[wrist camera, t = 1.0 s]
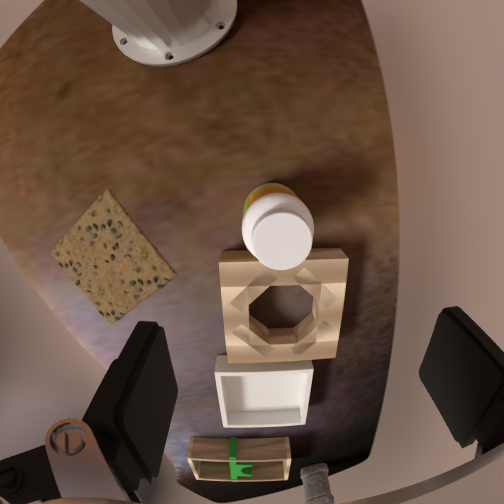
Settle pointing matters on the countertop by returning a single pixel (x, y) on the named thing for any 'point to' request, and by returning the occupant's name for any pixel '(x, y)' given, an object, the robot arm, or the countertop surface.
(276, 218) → the supplement bottle
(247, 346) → the plate
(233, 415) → the tray
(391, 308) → the countertop surface
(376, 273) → the countertop surface
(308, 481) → the stone
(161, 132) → the countertop surface
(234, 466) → the pipe clamp
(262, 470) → the parts corral
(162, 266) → the speckled tile
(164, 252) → the countertop surface
